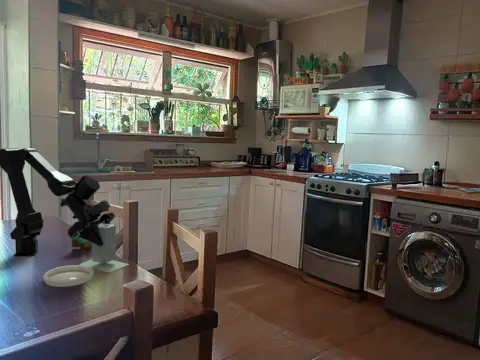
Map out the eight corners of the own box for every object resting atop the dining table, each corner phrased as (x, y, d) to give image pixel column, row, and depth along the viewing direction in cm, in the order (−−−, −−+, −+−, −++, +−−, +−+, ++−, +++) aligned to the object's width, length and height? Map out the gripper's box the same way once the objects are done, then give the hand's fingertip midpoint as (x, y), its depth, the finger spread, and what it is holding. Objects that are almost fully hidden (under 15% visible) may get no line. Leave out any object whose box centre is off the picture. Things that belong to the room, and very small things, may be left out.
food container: (84, 253, 147) (84, 227, 145) (70, 252, 148) (69, 226, 146) (102, 244, 159) (102, 220, 157) (88, 243, 160) (88, 219, 158)
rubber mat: (79, 266, 133) (79, 264, 133) (98, 259, 141) (98, 257, 141) (110, 274, 127) (110, 272, 127) (129, 266, 135) (129, 264, 135)
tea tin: (105, 263, 130) (105, 228, 129) (92, 261, 132) (91, 226, 131) (115, 258, 136) (115, 225, 134) (102, 256, 137) (102, 223, 136)
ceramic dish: (37, 288, 114) (37, 282, 114) (52, 271, 128) (52, 265, 128) (87, 287, 116) (87, 281, 116) (97, 270, 130) (97, 264, 130)
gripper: (74, 197, 123) (104, 235, 121) (111, 189, 141) (137, 223, 139) (54, 219, 127) (83, 256, 125) (92, 208, 144) (118, 241, 142)
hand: (107, 243), depth 133 cm, fingers closed on tea tin, 5 cm apart
